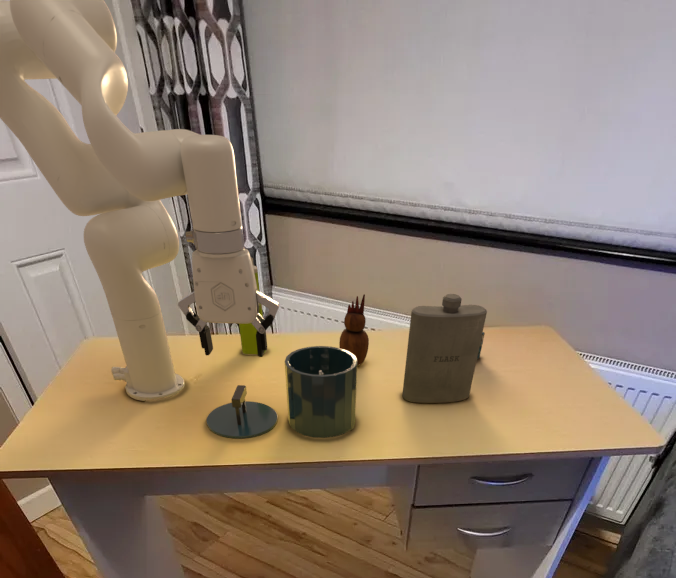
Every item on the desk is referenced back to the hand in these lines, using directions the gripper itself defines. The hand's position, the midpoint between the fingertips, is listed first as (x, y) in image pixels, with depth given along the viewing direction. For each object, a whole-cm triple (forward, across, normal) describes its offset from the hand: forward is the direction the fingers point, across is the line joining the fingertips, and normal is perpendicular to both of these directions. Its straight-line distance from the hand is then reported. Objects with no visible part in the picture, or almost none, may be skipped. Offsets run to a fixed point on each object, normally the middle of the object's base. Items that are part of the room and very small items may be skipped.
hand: (235, 353), depth 93 cm
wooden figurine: (+14, +20, +31) cm, 40 cm away
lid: (+13, 0, 0) cm, 13 cm away
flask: (+14, +40, +15) cm, 45 cm away
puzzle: (+14, +48, +36) cm, 61 cm away
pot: (+14, +16, +2) cm, 21 cm away
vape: (+14, -4, +35) cm, 38 cm away
